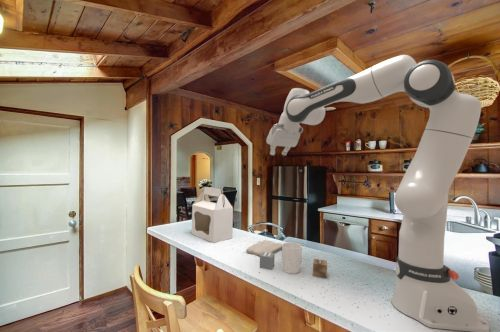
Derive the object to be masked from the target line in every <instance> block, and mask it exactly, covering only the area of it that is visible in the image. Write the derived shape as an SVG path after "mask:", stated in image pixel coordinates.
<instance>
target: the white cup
mask: <svg viewBox="0 0 500 332" xmlns="http://www.w3.org/2000/svg"><path fill="white" fill-rule="evenodd" d="M281 244H282V250H281V254H282V255H281V257H282V270H283V272H285V273H287V274H291V275H292V274H293V275H294V274H299V273H300V272H301V264H302V253H303V252H302V251H303V246H302V244H300V243H297V242H292V241H291V242H290V241H288V242H287V241H285V242H283V243H281Z"/></svg>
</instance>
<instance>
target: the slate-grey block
mask: <svg viewBox="0 0 500 332" xmlns="http://www.w3.org/2000/svg"><path fill="white" fill-rule="evenodd" d="M275 254H276V253H268V252H263V253H262V254H261V255H260V256H259V269H265V270H270V271H271V270H273V268H274V266H275V256H276V255H275Z"/></svg>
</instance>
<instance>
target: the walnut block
mask: <svg viewBox="0 0 500 332" xmlns="http://www.w3.org/2000/svg"><path fill="white" fill-rule="evenodd" d="M327 268H328V260H325V259H319V258H313V261H312V277H315V278H322V279H328V277H327V275H328V274H327V273H328V269H327Z"/></svg>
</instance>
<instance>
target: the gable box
mask: <svg viewBox="0 0 500 332" xmlns="http://www.w3.org/2000/svg"><path fill="white" fill-rule="evenodd" d="M209 196H213V197H218V198H217V200H216V202H213V201H211V200H210V197H209ZM191 207H192V209H191V235H194V236H196V237H197V238H200V239H202V240H204V241H208V242H210V243H212V244H215V243H219V242H222V241H223V242H224V241H227V240H231V239H233V228H234V226H233V223H234V221H233V220H234V218H233V217H234V214H233V213H234V207H233V206H232V204H231V203H230V201H229V199H228V198H227V197H226V195H225V194H224V190H222V189H221V188H216V187H210V186H204V187H203V191H200V193H199V195H198V196H197V198H196V199H195V201H194V202H193V203H192V206H191Z"/></svg>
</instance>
